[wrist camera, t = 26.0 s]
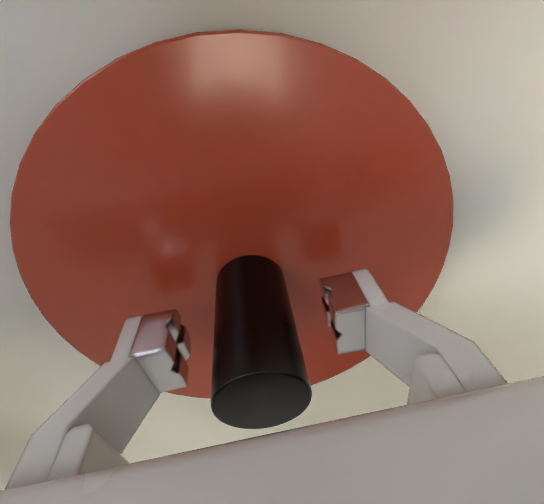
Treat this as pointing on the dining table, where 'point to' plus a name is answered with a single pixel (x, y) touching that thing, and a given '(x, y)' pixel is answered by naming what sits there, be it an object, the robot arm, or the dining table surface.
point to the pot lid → (230, 208)
